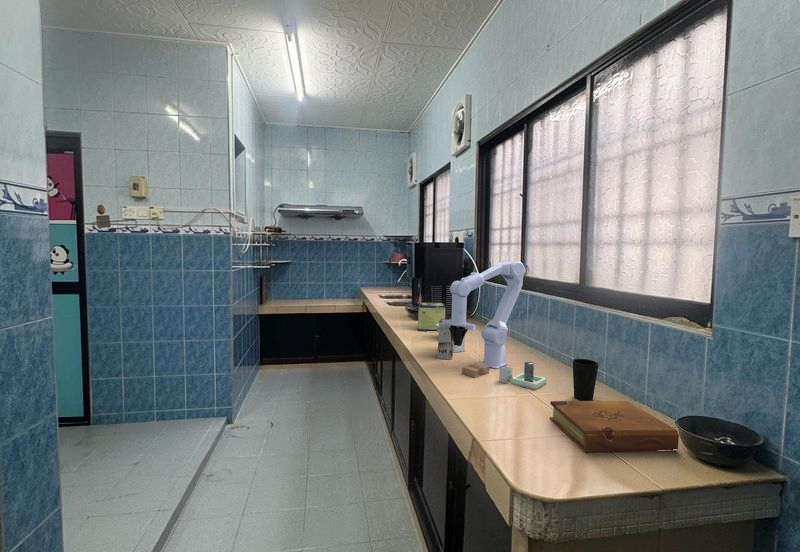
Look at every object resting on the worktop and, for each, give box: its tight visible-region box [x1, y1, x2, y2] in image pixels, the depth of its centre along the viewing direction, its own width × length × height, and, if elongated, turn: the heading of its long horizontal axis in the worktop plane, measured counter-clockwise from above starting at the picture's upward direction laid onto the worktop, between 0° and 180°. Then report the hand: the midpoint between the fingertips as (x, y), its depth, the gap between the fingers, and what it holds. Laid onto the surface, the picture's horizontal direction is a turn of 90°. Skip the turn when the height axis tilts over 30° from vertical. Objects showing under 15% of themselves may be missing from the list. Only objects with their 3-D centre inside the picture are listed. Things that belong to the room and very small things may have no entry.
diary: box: [549, 400, 680, 453], centre depth 101 cm, size 23×19×6 cm
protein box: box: [417, 302, 446, 332], centre depth 229 cm, size 10×16×16 cm
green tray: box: [510, 372, 547, 391], centre depth 139 cm, size 9×9×2 cm
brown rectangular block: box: [461, 362, 490, 379], centre depth 149 cm, size 9×6×3 cm, turn 133°
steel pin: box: [523, 361, 535, 383], centre depth 138 cm, size 3×3×7 cm
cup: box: [572, 358, 599, 401], centre depth 126 cm, size 8×8×12 cm
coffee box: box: [437, 318, 454, 361], centre depth 171 cm, size 9×6×16 cm
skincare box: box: [453, 335, 466, 353], centre depth 182 cm, size 8×6×15 cm
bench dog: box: [498, 365, 513, 385], centre depth 140 cm, size 4×3×5 cm
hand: (457, 345), depth 154 cm, fingers closed
